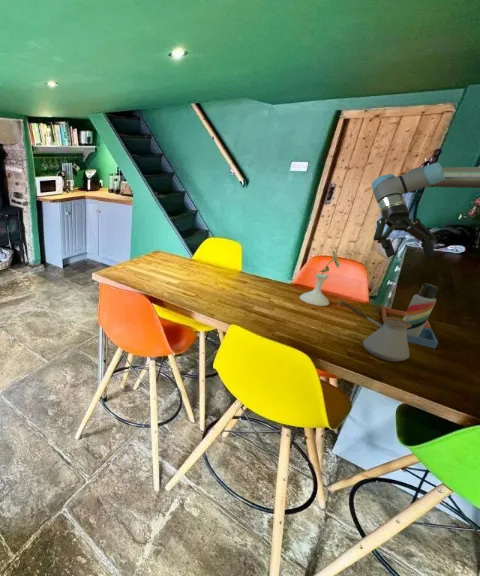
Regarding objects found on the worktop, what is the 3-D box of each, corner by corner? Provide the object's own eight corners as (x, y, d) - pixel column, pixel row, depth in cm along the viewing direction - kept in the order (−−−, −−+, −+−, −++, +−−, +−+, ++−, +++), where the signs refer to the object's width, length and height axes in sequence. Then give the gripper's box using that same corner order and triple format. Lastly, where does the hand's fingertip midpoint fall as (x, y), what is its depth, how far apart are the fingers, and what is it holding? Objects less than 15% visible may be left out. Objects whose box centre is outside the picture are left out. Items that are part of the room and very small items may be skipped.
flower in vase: (318, 310, 132) (336, 256, 122) (293, 300, 142) (308, 249, 132) (335, 305, 137) (354, 252, 128) (310, 296, 147) (326, 246, 137)
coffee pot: (406, 356, 100) (426, 316, 94) (405, 371, 93) (426, 328, 87) (329, 331, 114) (342, 295, 108) (322, 343, 107) (336, 305, 101)
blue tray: (429, 334, 112) (432, 328, 111) (435, 348, 104) (438, 342, 103) (382, 324, 120) (385, 318, 119) (385, 336, 111) (387, 330, 110)
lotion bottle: (393, 330, 114) (415, 281, 107) (408, 330, 114) (431, 281, 107) (406, 338, 109) (431, 287, 101) (422, 338, 109) (448, 287, 101)
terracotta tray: (423, 320, 122) (425, 315, 121) (428, 332, 114) (431, 326, 113) (380, 312, 130) (382, 307, 129) (382, 322, 121) (384, 317, 120)
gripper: (419, 215, 122) (438, 262, 114) (353, 214, 124) (367, 260, 116) (437, 204, 115) (458, 252, 107) (367, 203, 117) (383, 250, 109)
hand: (411, 256), depth 111 cm, fingers open, 13 cm apart
